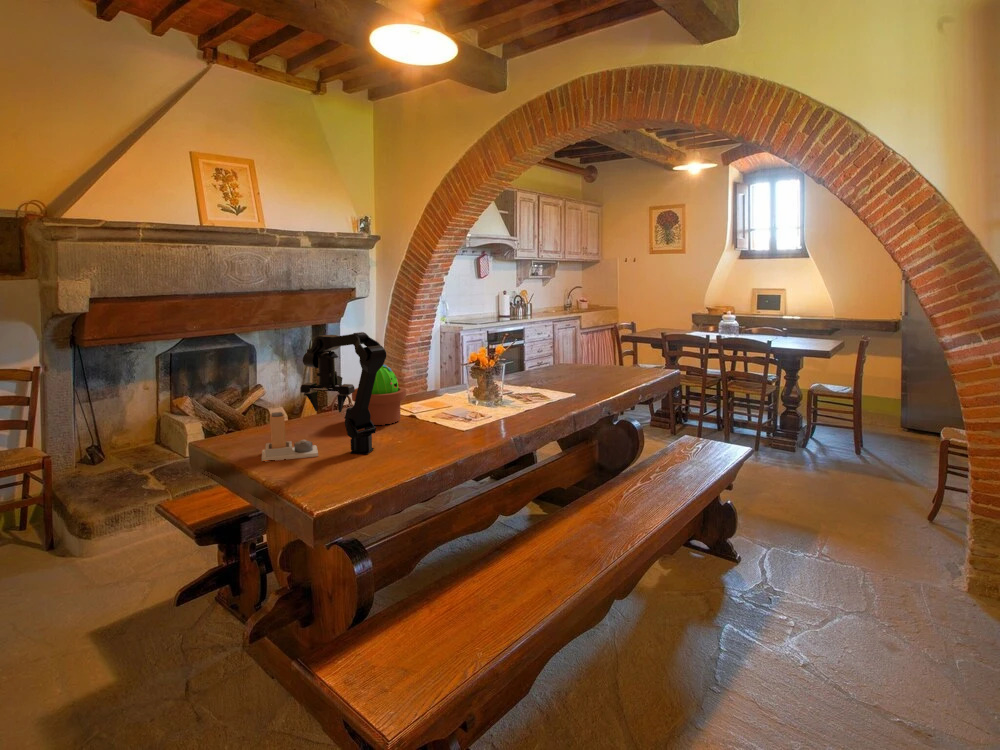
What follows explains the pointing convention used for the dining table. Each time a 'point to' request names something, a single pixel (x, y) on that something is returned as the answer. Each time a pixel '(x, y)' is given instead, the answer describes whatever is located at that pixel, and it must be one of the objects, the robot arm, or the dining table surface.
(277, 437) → the block
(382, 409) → the potted cactus
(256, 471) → the dining table surface
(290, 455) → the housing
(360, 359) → the robot arm
